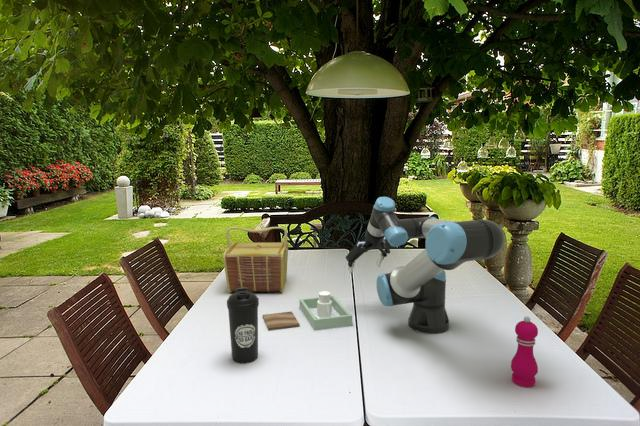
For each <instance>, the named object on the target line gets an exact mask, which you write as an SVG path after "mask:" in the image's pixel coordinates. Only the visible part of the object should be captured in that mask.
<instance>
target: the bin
mask: <svg viewBox="0 0 640 426" xmlns="http://www.w3.org/2000/svg"><path fill="white" fill-rule="evenodd" d="M318 300H319V296H317V297H307V298H300V299H299V309H300V311H301V312H302V314H303V315H304V317H305V319H306V320H307V321H308V323H309V324H310V326H311V327H312V329H313V330H314V331H321V330H330V329H335V328H343V327H351V326H353V315H352V313H350V311H348V310H347V308H346V307H345V306H344V305H343V304H342V303H341V302H340V301H339V300H338V299H337V298H336V297H335V295H330V300H331V301H332V309H334V310H335V311H336V312H337V314H338V313H339V314H338V315H335V316H334V315H333V317H326V318H317V317H316V315H315V314H314V313H313V312H312V310H311V309H314V308H316V309H317V301H318Z"/></svg>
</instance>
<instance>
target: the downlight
mask: <svg viewBox="0 0 640 426" xmlns="http://www.w3.org/2000/svg"><path fill="white" fill-rule="evenodd" d="M330 296H331V292H329V291H327V290H323V291H319V292H318V297H319V300H318V301H317V307H316V309H317V313H316V314H315V317H316V319H318V318H326V317H334V315H333V313H332V311H333V310H332V309H333V307H332V301H331V300H330Z"/></svg>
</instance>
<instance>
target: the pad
mask: <svg viewBox="0 0 640 426" xmlns="http://www.w3.org/2000/svg"><path fill="white" fill-rule="evenodd" d="M262 319H263V321H264V323H265V325H266V328H267V330H268V331H277V330H284V329H292V328H299V327H301V326H300V322H299V321H298V319H297V318H296V316H295V314H294V313H293V311H283V312H276V313H266V314H262Z"/></svg>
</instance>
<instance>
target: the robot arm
mask: <svg viewBox="0 0 640 426" xmlns="http://www.w3.org/2000/svg"><path fill="white" fill-rule="evenodd" d="M395 209H396V202H395V200H393V199H392V198H390V197H388V196H379V197H378V198H377V199H376V201H375V203H374V205H373V207H372V211H371V214H370V219H369V222H368V224H367V228H366V231H365V233H364V240H363V241H360V240H357V241H356V242H355V245H354V246H353V247H352V249H350V251H349V252H348V253H347V255H346V256H345V259H346V261H347V266H348V267H347V270H348V272H349V273H350V274H353V272H354V269H355V266H356V260H358V259H359V258H360V257H361V256H362V255H363V254H364V253H367V252H368V251H371V250H375V249H378V250H379V252H378V254H377V257H376V260H375V264H376V266H377V267H378V268H380V267H381V264H382V262H383V260H385V259H384V258H386V257H388V255H389V254H391V250H390V246H391V247H393V248H396V247H401V245H402V246H403V245H405V244H406V243H407V242H408V241H409V240H412V239H425V248H424V249H423V250H422V251H421V252H419V253H418V254H417V255H416V256H415V257H414V258H413V259H411V261H410V262H408V263H407V264H406V265H401V266H398V267H395V268H394V269H393V270H392V271H391V272H389V273H388V272H387V273H384V272H383V273H381V274H379V275H378V276H377V278H376V292H377V295H378V299H379V301H380V303H381V304H382V305H383V306H384V307H393V306H400V305H406V304H412V307H411V311H410V314H409V316H408V318H407V319H408V324H407V325H408V327H409V328H410V329H411V330H413V331H416V332H419V333H424V334H440V333H445V332H447V331H448V330H449V328H450V320H449V316H448V313H447V310H446V286H447V285H446V284H447V278H446V277H447V275H446V271H453V270H455V269H457V268H458V267H459V266H461V265H463V264H464V263H467V262H472V261H481V260H487V259H491V258H494V257H495V256H496V255H498V254H499V253H500V252H501V250H502V249H503V247H504V245H505V242H506V241H505V240H506V239H505V234H504V230H503V229H502V227H501V226H500V225H499V224H498V223H497V222H496V221H495V222H494V221H493V220H490V219H474V220H464V221H463V220H462V221H459V220H457V221H456V220H450V219H439V218H437V217H434V216H424V217H417V218H416V217H414V218H404V219H403V218H402V219H399V217H398V216H397V214H396V213H395ZM381 244H383V247H382V246H381ZM389 245H390V246H389Z"/></svg>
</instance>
